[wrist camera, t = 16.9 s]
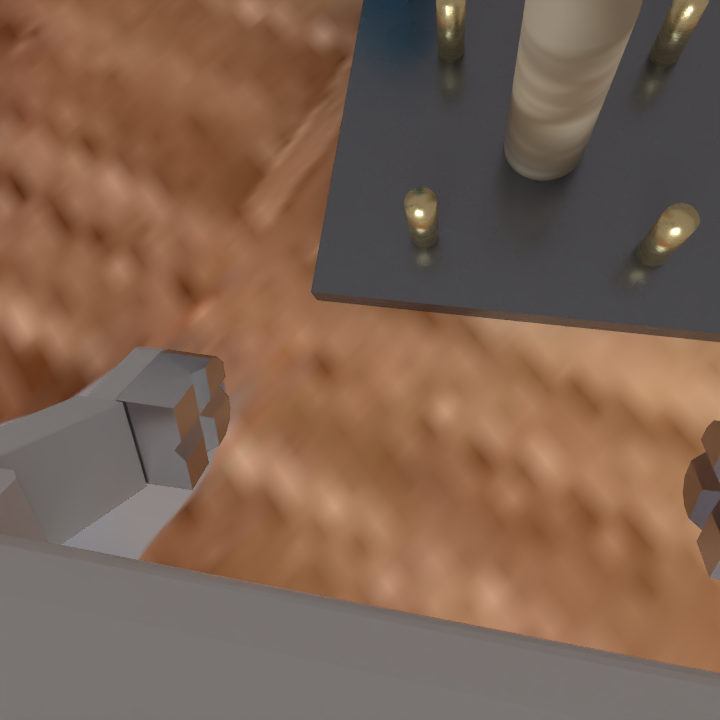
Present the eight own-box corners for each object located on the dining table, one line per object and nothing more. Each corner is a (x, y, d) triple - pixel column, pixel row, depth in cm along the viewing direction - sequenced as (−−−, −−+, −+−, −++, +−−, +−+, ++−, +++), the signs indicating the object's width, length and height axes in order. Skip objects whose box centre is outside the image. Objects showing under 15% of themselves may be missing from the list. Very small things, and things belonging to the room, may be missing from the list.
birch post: (499, 178, 32) (519, 47, 22) (508, 108, 33) (531, -47, 23) (581, 183, 31) (638, 49, 21) (587, 112, 32) (646, -48, 22)
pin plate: (317, 299, 34) (291, 266, 29) (368, 13, 37) (353, -65, 32) (761, 346, 29) (828, 316, 24) (770, 14, 33) (830, -75, 28)
